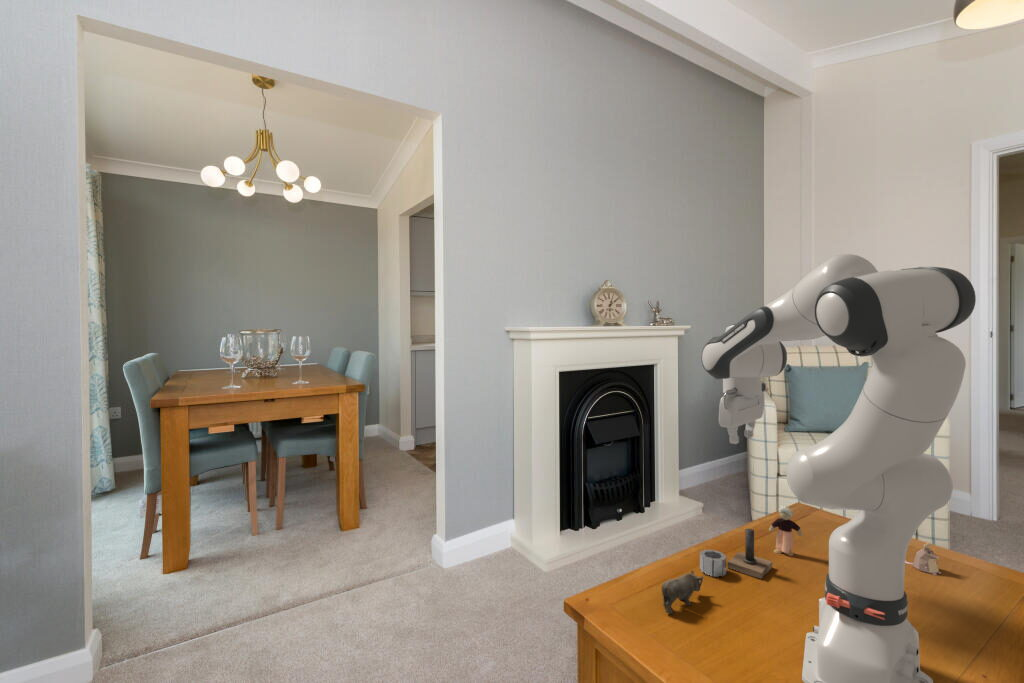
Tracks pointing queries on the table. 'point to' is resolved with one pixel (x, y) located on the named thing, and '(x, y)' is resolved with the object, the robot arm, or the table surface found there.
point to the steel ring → (713, 563)
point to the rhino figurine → (680, 589)
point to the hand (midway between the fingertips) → (741, 440)
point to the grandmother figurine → (785, 531)
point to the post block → (749, 559)
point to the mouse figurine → (926, 560)
